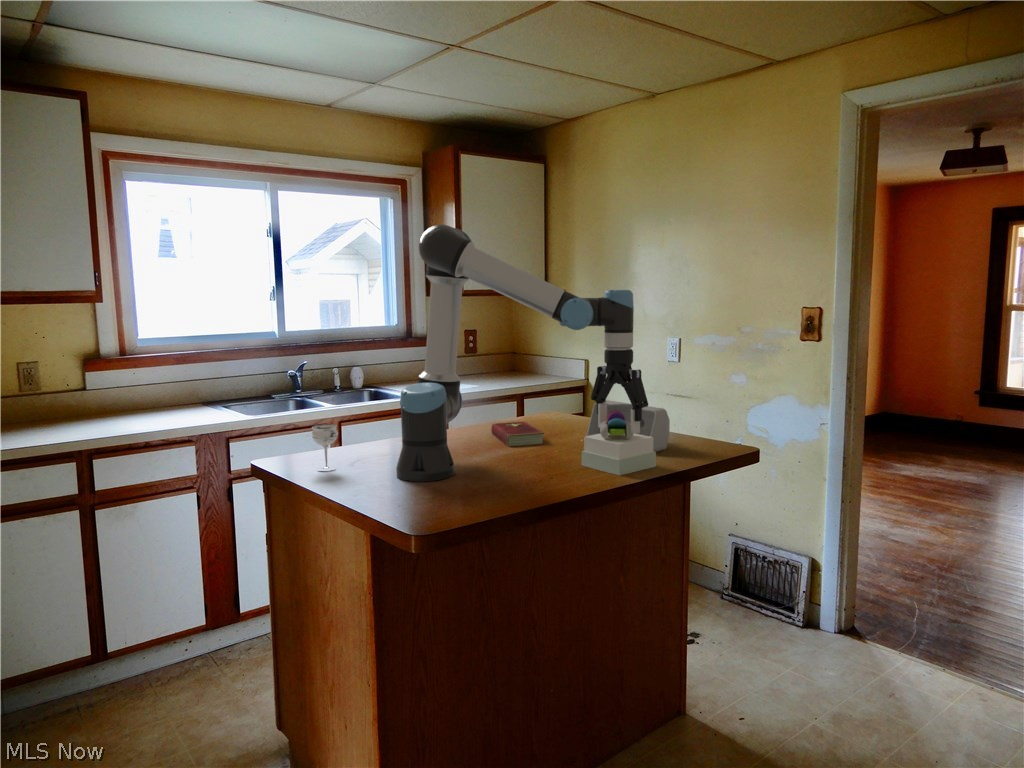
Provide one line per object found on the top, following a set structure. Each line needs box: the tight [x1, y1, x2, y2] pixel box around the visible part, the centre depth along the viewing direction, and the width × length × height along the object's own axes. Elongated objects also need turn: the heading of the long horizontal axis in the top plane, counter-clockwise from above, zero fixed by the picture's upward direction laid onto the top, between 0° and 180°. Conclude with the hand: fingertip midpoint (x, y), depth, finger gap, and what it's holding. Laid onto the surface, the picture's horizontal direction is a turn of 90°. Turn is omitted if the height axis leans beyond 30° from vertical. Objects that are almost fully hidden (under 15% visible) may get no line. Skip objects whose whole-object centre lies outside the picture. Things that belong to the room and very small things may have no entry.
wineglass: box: [311, 423, 339, 468], centre depth 188 cm, size 7×7×12 cm
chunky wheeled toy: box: [600, 410, 633, 439], centre depth 186 cm, size 8×10×7 cm
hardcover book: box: [490, 420, 545, 447], centre depth 225 cm, size 12×21×4 cm, turn 15°
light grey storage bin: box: [586, 399, 671, 453], centre depth 213 cm, size 25×16×12 cm, turn 39°
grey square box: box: [581, 433, 657, 476], centre depth 187 cm, size 14×14×8 cm
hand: (618, 430), depth 186 cm, fingers open, 11 cm apart
